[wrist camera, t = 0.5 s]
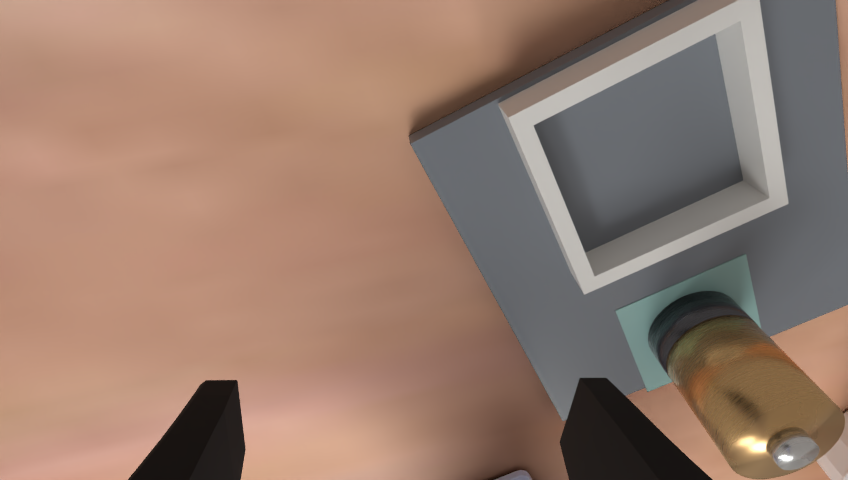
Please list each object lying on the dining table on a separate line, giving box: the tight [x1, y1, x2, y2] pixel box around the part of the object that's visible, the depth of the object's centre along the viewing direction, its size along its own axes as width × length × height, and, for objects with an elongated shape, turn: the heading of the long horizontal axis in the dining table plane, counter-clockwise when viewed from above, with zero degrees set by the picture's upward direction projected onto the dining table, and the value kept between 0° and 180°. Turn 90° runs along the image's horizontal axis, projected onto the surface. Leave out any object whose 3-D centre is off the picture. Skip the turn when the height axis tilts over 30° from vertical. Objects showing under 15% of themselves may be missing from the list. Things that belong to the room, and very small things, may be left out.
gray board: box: [409, 0, 848, 421], centre depth 21 cm, size 16×14×2 cm
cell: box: [648, 291, 845, 479], centre depth 21 cm, size 4×4×7 cm
